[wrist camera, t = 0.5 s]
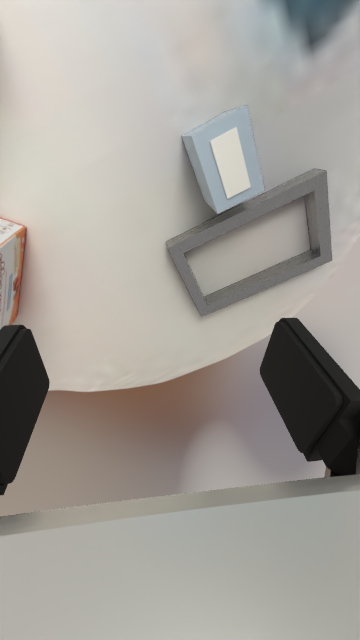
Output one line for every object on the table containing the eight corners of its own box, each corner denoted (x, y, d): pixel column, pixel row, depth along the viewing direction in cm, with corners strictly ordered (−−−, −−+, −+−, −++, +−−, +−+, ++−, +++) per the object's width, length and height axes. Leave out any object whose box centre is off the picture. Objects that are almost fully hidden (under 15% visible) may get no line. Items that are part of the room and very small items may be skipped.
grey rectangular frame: (314, 168, 30) (326, 170, 28) (321, 253, 37) (332, 260, 35) (165, 241, 33) (167, 248, 31) (198, 307, 40) (201, 316, 38)
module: (224, 111, 26) (248, 104, 20) (242, 180, 30) (266, 191, 24) (181, 136, 27) (191, 135, 21) (204, 200, 31) (218, 214, 25)
